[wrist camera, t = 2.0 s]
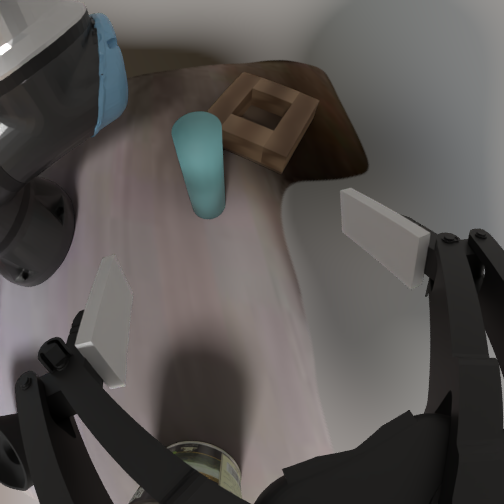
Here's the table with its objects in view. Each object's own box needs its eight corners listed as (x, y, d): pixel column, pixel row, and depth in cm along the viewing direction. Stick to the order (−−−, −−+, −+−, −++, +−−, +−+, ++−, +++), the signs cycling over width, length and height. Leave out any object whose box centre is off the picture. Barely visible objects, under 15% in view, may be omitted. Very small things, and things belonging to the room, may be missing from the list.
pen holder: (22, 395, 25) (-25, 403, 16) (72, 434, 25) (29, 456, 15) (15, 442, 23) (-26, 457, 13) (63, 480, 22) (26, 506, 13)
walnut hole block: (201, 139, 37) (198, 121, 33) (242, 89, 40) (243, 71, 36) (281, 174, 36) (286, 157, 32) (313, 118, 39) (319, 100, 36)
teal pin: (186, 210, 34) (161, 138, 21) (203, 184, 35) (189, 106, 22) (214, 224, 34) (204, 155, 20) (231, 197, 35) (231, 120, 21)
